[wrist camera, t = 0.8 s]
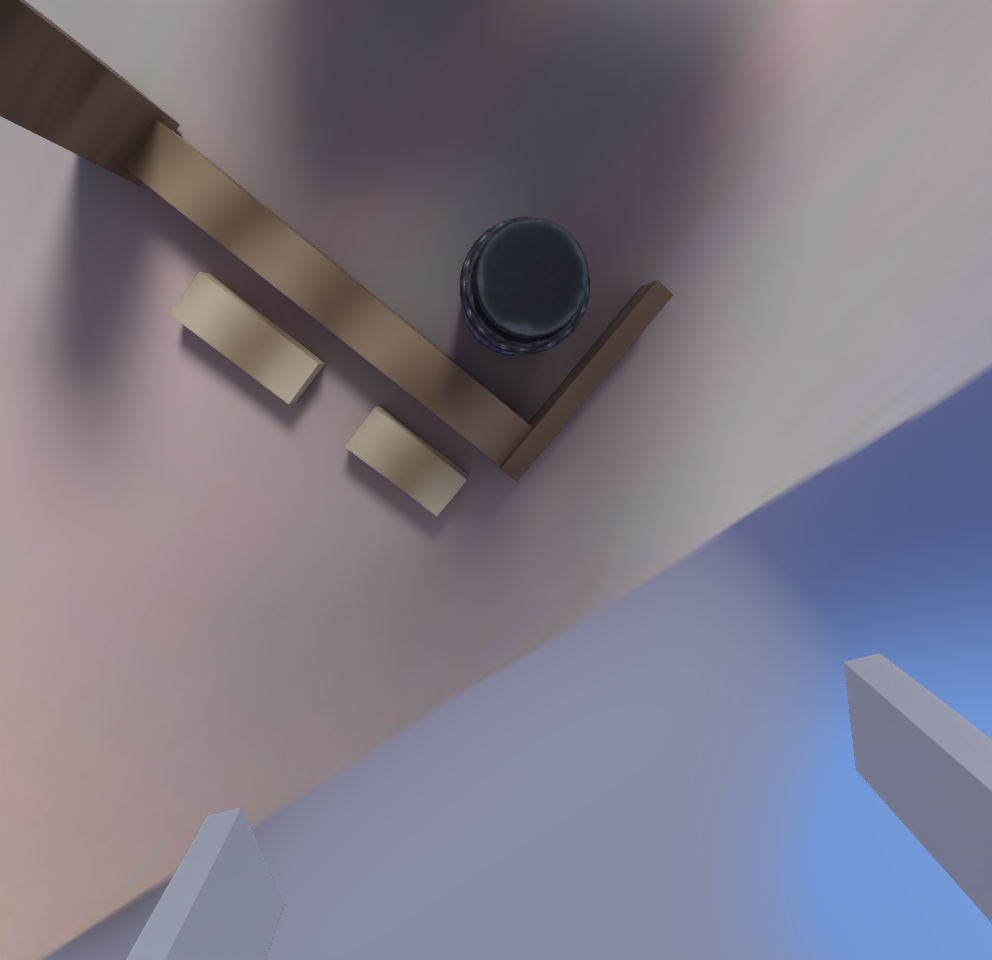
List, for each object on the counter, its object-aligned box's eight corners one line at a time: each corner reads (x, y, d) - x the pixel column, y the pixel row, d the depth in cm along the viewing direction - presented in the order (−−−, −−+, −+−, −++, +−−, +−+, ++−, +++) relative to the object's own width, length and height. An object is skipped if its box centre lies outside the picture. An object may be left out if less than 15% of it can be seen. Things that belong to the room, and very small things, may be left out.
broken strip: (183, 316, 33) (169, 314, 32) (212, 274, 33) (199, 271, 31) (438, 509, 37) (436, 516, 35) (467, 474, 36) (467, 480, 35)
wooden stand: (76, 134, 31) (-200, -17, 18) (219, -99, 29) (21, -453, 16) (508, 477, 36) (526, 545, 23) (656, 299, 34) (764, 268, 21)
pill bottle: (500, 374, 35) (513, 384, 24) (441, 289, 34) (426, 260, 23) (583, 314, 34) (633, 297, 24) (526, 225, 33) (551, 165, 22)
